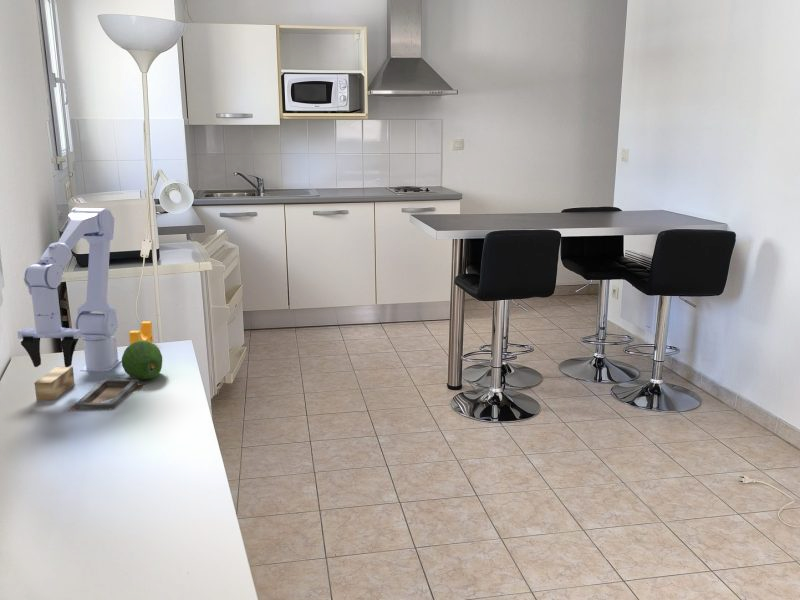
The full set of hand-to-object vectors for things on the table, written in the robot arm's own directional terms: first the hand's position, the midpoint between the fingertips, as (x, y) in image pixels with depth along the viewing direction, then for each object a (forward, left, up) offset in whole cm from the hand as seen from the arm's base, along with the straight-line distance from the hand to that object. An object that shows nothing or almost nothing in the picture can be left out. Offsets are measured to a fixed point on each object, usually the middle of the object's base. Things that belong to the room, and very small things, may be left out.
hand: (53, 365), depth 178 cm
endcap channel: (+5, +15, -7) cm, 17 cm away
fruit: (-10, +19, -7) cm, 22 cm away
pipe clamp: (-38, +8, -7) cm, 39 cm away
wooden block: (0, 0, -7) cm, 7 cm away
